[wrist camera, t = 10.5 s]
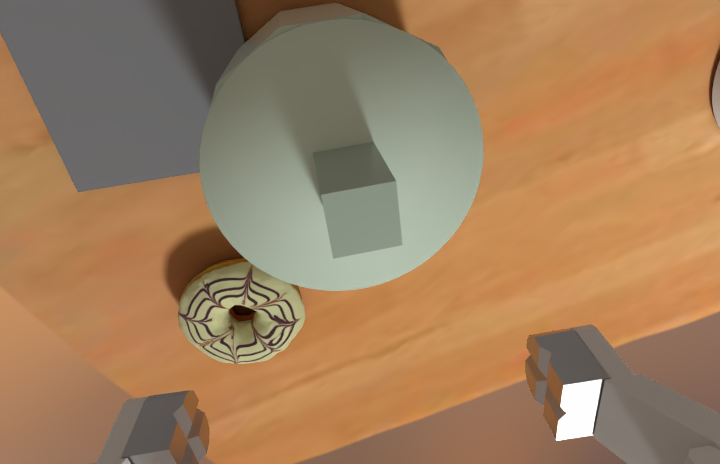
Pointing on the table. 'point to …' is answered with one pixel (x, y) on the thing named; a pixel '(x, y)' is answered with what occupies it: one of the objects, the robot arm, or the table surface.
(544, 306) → the table surface
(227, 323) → the decorated donut
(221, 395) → the table surface
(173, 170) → the slate mat
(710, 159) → the table surface
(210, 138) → the cloche
